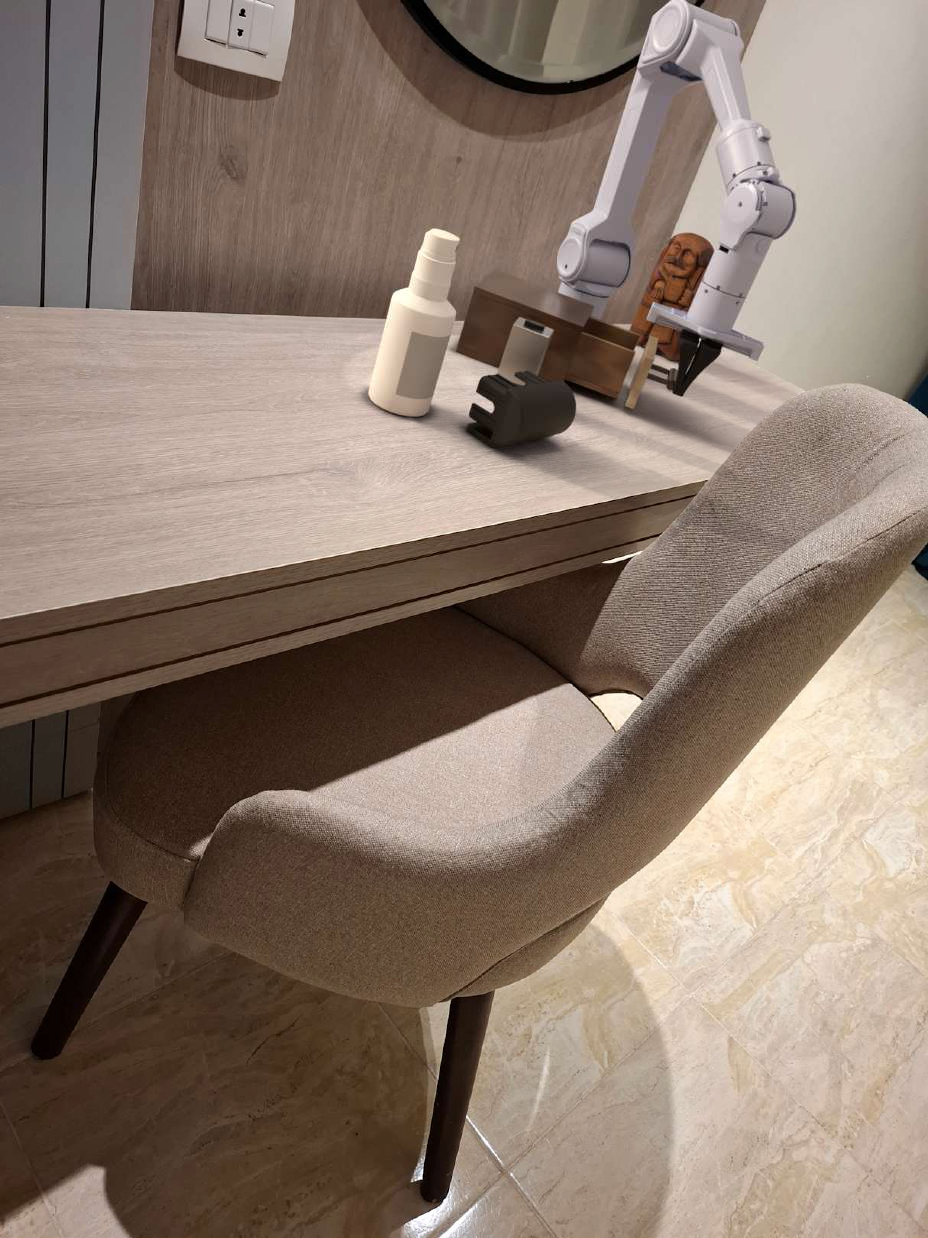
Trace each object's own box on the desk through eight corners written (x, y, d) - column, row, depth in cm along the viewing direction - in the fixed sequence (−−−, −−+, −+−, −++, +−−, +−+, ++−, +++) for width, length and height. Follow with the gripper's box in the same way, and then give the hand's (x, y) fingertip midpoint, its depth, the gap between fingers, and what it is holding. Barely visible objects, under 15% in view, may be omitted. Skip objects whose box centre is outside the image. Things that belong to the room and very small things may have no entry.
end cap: (509, 461, 94) (530, 401, 90) (461, 429, 97) (479, 370, 94) (563, 449, 101) (585, 393, 98) (517, 419, 104) (536, 364, 101)
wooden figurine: (614, 333, 149) (658, 220, 139) (633, 331, 154) (677, 222, 144) (673, 364, 144) (723, 249, 134) (691, 361, 149) (740, 250, 139)
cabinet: (572, 365, 128) (594, 305, 123) (560, 390, 117) (583, 326, 113) (476, 329, 128) (494, 268, 124) (455, 351, 118) (474, 286, 113)
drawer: (667, 395, 126) (687, 348, 123) (663, 420, 117) (685, 371, 113) (549, 350, 127) (565, 303, 123) (535, 372, 118) (553, 322, 114)
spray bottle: (420, 424, 95) (469, 251, 85) (359, 402, 95) (402, 227, 85) (434, 404, 101) (482, 240, 91) (377, 383, 101) (418, 217, 91)
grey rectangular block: (497, 382, 113) (520, 312, 108) (531, 395, 113) (555, 325, 108) (491, 391, 110) (514, 319, 105) (525, 404, 109) (550, 333, 104)
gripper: (666, 273, 105) (621, 381, 113) (783, 316, 105) (731, 422, 112) (668, 263, 111) (626, 366, 119) (779, 304, 111) (730, 405, 118)
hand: (677, 393), depth 116 cm, fingers closed
